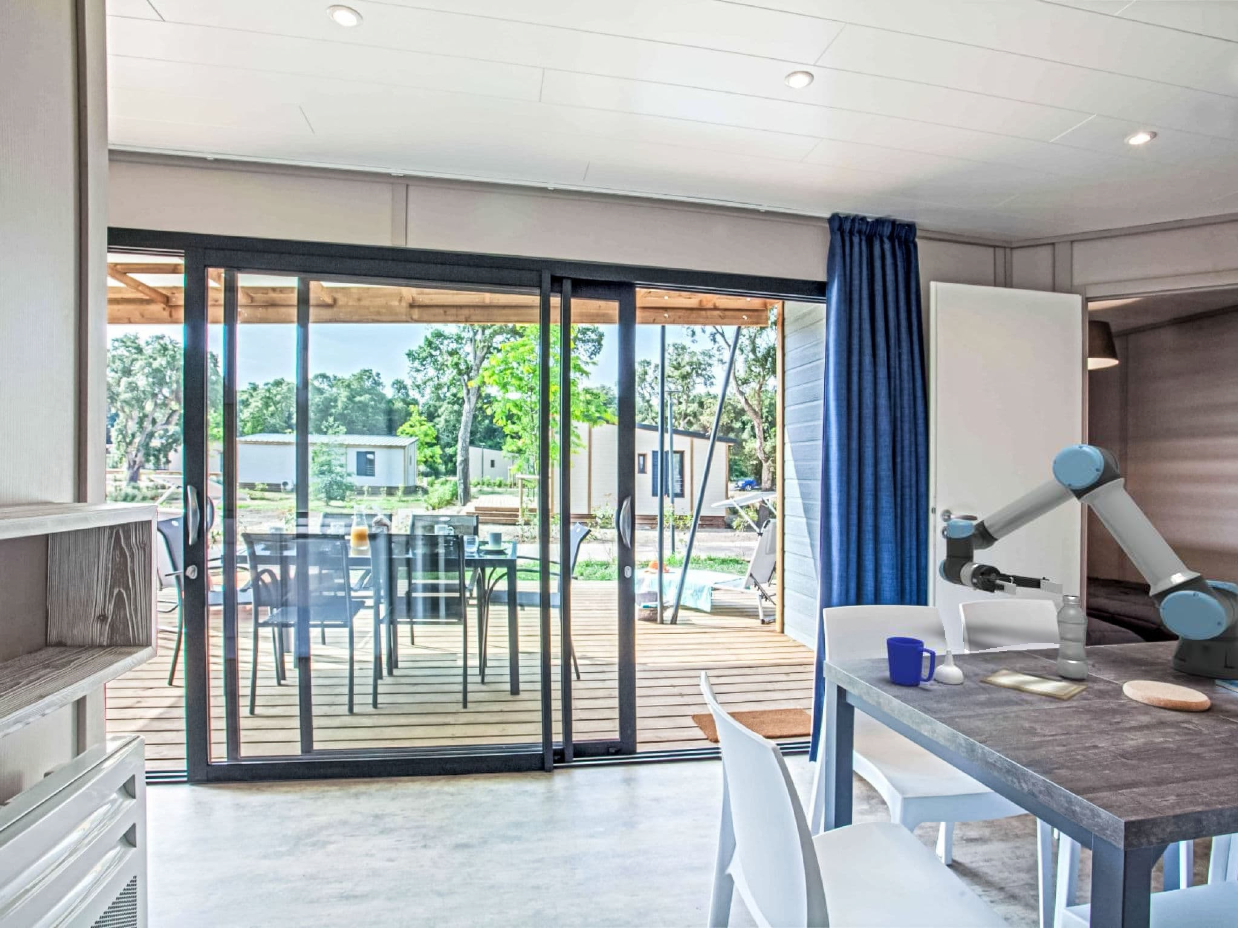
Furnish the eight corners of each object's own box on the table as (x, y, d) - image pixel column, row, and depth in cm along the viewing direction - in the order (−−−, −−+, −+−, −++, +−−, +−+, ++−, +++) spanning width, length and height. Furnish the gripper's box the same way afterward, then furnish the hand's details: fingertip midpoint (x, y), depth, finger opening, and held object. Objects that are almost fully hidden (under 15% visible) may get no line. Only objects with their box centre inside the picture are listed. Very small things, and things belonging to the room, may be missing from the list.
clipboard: (1086, 688, 157) (1086, 682, 157) (1065, 700, 148) (1065, 694, 148) (1003, 671, 171) (1003, 666, 171) (979, 681, 162) (979, 676, 162)
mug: (922, 694, 152) (921, 649, 153) (879, 680, 163) (879, 638, 163) (946, 689, 156) (946, 645, 157) (903, 676, 167) (902, 635, 167)
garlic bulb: (929, 681, 164) (926, 649, 164) (945, 675, 167) (943, 643, 167) (953, 688, 159) (950, 655, 159) (969, 682, 162) (967, 649, 162)
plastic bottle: (1078, 674, 169) (1077, 594, 169) (1094, 682, 162) (1093, 598, 162) (1051, 673, 169) (1050, 593, 170) (1066, 681, 163) (1065, 598, 163)
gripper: (1019, 589, 199) (1080, 602, 178) (942, 590, 195) (995, 604, 174) (1019, 563, 199) (1080, 574, 178) (942, 564, 195) (995, 575, 174)
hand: (1038, 589), depth 176 cm, fingers open, 13 cm apart
